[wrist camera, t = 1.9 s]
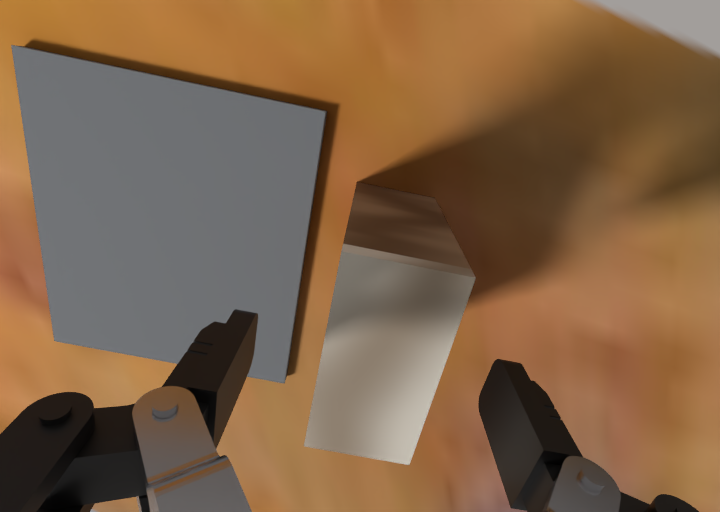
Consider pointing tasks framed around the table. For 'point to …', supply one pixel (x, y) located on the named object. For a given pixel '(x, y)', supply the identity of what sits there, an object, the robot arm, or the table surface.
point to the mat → (166, 206)
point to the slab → (388, 325)
